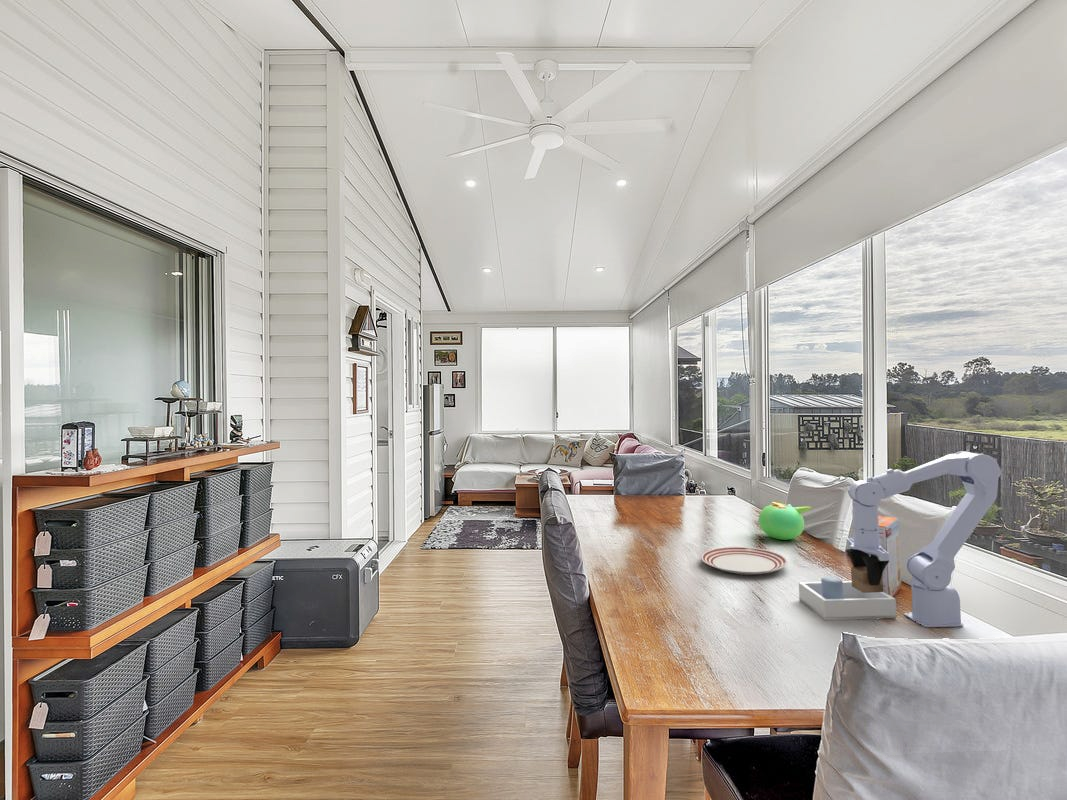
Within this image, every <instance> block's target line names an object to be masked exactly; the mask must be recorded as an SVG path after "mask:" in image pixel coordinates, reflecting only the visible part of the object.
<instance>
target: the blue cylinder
mask: <svg viewBox="0 0 1067 800" xmlns="http://www.w3.org/2000/svg"><path fill="white" fill-rule="evenodd" d="M820 580H821V581H820V582H821V586H822V597H824V598H825V599H843V580H842V579H840V578H836V577H831V576H829V577H828V576H826V577H825V576H823V577H822V578H821V579H820Z"/></svg>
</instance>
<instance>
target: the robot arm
mask: <svg viewBox="0 0 1067 800" xmlns="http://www.w3.org/2000/svg"><path fill="white" fill-rule="evenodd" d="M1002 473H1003V472H1002V470H1001V467H1000V466H999V464H998V462H997V460H996V459H995V458H994V457H993V456H991V455H988V454H983V453H975V452H970V451H967V450H962V451H961V450H960V451H957V452H955V453H949V454H946V455H944V456H942V457H939V458H937V459H934V460H931V461H929V462H926V463H924V464H921V465H919V466H916V467H914V468H911V469H908V470H906V471H902V470H901V469H892V468H888V469H886V470H885V472H884V473H882V474H879V475H876V476H868V477H866V479H867V480H861V479H859V480H856V481H854V482H853V483H852V484H851V485H849V489H848V490H847V494H848V496H849V497H850V499H851V501H852V503H851V504H852V510H851V512H852V513H851V514H852V534H853V535H852V537H849V538H848V537H847V538H846V542H845V543H846V546H847V547H849V548H847V549H845V553H846V554H847V556H848V557H849V560H850V561H851V564H852V567H865V566H866V568H867V572H868V579H869V583H870V585H879V584H880V581H881V577H882V573H883V571H884V569H885V567H886V565H887V564H888V563H889V553H888V552H886V551H885V550H884V549H883V548H882V547H881V546H879V519H878V516H879V509H878V505H879V503H880V502H881V501H882V500H884V499H887V498H890V497H893V496H897V495H899V494H902V493H905V492H908V491H910V489H911V487H912V485H913V484H916V483H920V482H923V481H927V480H930V479H934V478H937V477H939V476H944V475H950V476H951V475H953V476H957V477H958V478H959V479H960V481H961V482H962V484H963V487H964V489H965V492H966V493H965V495H964V496H963V497H962V498H961V500H960V501H959V503H958V504H957V506H956V507H955V508H954V509H953V512H952V513H951V514H950V516H948V518H947V520H946V521H945V523H944V524H943V525H942V527H941V529H939V531H938V533H937V534H936V535H935V536H934V538H933V539H932V541H931V542H930V543H929V544H928V545H925V546H923V547H921V548H920V549H919V551H917V552H916V553H914V554H913V555H911V556H910V557H908V559H907V561H906V569H907V572H908V573H909V574H910V575H911V580H910V584H911V585H910V586H911V588H910V589H911V591H910V593H911V612H904V613H903V615H904V616H905V617H907V618H909V619H911V620H912V621H913V622H915V621H916V623H917V624H919V625H920V624H921V626H922V627H924V628H944V627H945V628H948V627H949V628H950V627H964V624H963V623H962V622H961V619H962V618H961V599H960V595H959V593H958V591H957V589H956V588H955V587H953V586H952V585H950V583H951V580H952V575H953V574H952V573H953V571H954V570H955V568H956V565H955V557H956V555H957V554H958V553H959V551H960V550H961V549H962V547H963V546H964V544H965V543H966V542H967V541H968V539H969V537H970V536H971V535H972V533H973V532H974V531H975V529H976V528H977V526H978V525H979V524H980V522H981V521H982V519H983V518H984V517H985V515H986V513H988V511H989V510H990V508H991V507H992V505H993V504H994V503H995V501H996V500H997V497H998V489H999V488H998V487H999V478H1000V476H1001V475H1002ZM869 555H870V556H869Z"/></svg>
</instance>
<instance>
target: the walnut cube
mask: <svg viewBox="0 0 1067 800" xmlns="http://www.w3.org/2000/svg"><path fill="white" fill-rule="evenodd" d="M850 573H851V574H850V575H851V581H852V587H854V588H856V589H858V590H859V591H861V592H863V593H871V592H883V576H882V577H881V581H880V584H879V585H870V583H869V579H868V572H867V568H866V566H865V567H853V566H851V567H850Z"/></svg>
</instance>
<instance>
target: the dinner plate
mask: <svg viewBox="0 0 1067 800" xmlns="http://www.w3.org/2000/svg"><path fill="white" fill-rule="evenodd" d="M700 559H701V560H702V562H703V563H704V564H706V565H708V566H710V567H713V568H715V569H716V570H717V569H718V570H720V571H723V572H727V573H729V574H730V573H731V574H736V575H743V574H744V576H745V575H746V576H749V575H750V576H754V575H755V576H758V574H759V575H764V574H769V573H774V572H777V571H779V570H781V569H784V568H785V567H786V566H787V565H788V559H787V558H786V556H784V555H783V554H780V553H778V552H775V551H772V550H769V549H768V550H767V549H763V548H759V547H758V548H757V547H747V546H725V547H723V546H722V547H717V548H714V549H709V550H706V551H704V552H703V553H702V555H701V556H700Z"/></svg>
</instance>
